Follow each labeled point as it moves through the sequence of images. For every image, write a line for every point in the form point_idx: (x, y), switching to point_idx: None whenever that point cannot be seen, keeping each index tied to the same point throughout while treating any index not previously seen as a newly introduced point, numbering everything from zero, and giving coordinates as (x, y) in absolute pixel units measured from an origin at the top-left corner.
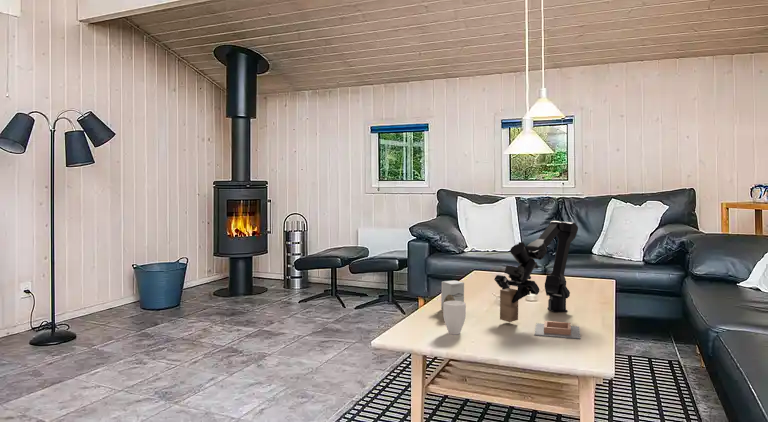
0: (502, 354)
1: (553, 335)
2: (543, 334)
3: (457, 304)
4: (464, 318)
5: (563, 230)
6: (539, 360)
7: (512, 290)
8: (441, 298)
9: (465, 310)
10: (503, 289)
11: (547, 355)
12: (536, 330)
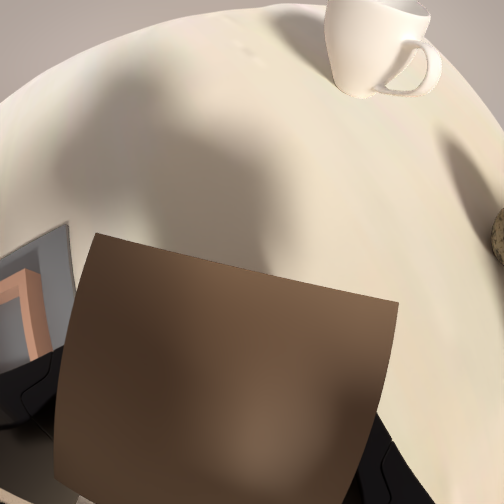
0: (138, 41)
1: (14, 257)
2: (38, 245)
3: (406, 27)
4: (325, 33)
5: None
6: (63, 69)
7: (104, 401)
8: None
9: (334, 11)
10: (347, 385)
11: (44, 98)
12: (67, 289)
